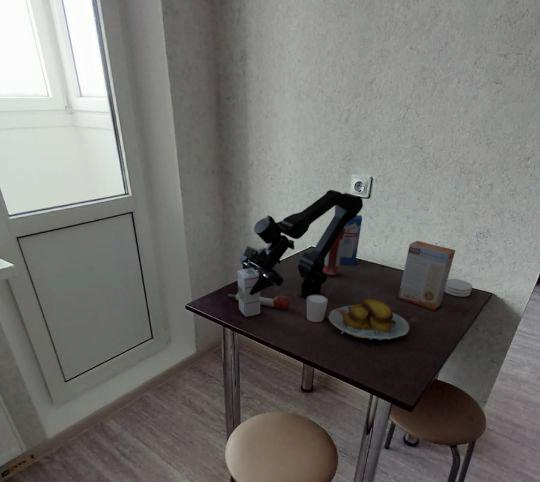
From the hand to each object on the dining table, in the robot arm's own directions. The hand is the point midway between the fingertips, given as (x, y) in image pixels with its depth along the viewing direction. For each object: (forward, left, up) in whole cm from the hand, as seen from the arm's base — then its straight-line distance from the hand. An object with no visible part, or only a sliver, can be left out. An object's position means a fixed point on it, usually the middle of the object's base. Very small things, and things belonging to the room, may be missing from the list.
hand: (244, 290), depth 130 cm
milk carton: (-24, -63, -9) cm, 68 cm away
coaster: (-70, -47, -9) cm, 84 cm away
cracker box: (-56, -32, -9) cm, 65 cm away
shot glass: (-23, -6, -9) cm, 25 cm away
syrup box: (-1, -2, -8) cm, 9 cm away
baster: (-2, -9, -8) cm, 12 cm away
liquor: (-21, -46, -9) cm, 51 cm away
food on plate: (-40, -6, -9) cm, 41 cm away
